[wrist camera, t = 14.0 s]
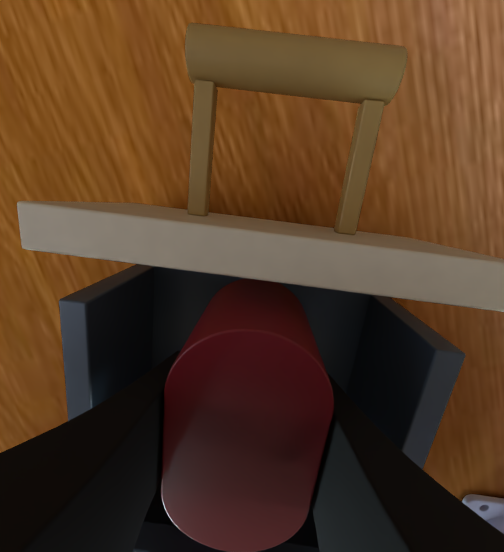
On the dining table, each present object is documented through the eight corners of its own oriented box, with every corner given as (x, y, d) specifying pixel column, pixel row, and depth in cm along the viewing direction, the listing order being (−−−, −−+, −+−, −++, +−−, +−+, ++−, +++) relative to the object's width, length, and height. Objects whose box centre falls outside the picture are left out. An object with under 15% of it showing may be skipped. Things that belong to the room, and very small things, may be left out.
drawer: (133, 65, 10) (-20, -96, 5) (446, 101, 10) (664, -24, 5) (133, 453, 16) (59, 590, 10) (340, 483, 15) (382, 641, 10)
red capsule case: (316, 284, 10) (351, 342, 6) (286, 437, 11) (297, 563, 7) (207, 270, 10) (165, 317, 6) (195, 424, 12) (157, 542, 7)
